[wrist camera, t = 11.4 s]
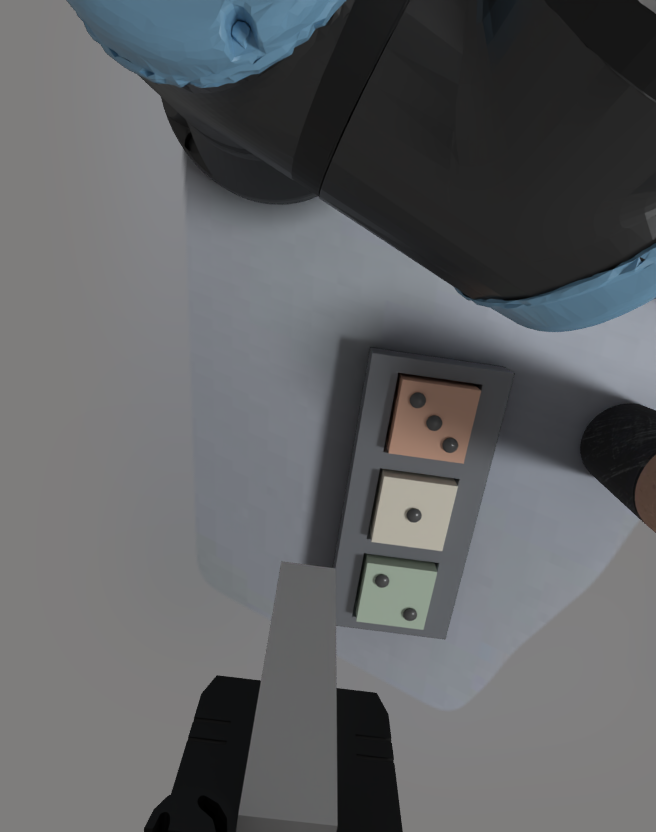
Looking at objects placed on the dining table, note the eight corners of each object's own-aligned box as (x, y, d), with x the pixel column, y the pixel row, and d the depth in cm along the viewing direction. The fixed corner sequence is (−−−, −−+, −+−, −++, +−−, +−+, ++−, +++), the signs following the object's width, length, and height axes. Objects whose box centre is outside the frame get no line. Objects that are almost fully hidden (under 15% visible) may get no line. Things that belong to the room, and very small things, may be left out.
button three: (397, 371, 41) (403, 380, 37) (470, 381, 41) (482, 391, 38) (384, 440, 42) (388, 454, 39) (454, 449, 42) (464, 464, 39)
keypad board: (370, 347, 40) (372, 353, 38) (503, 366, 41) (514, 373, 38) (326, 606, 48) (325, 624, 45) (439, 620, 48) (445, 639, 46)
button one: (380, 462, 43) (384, 477, 40) (449, 471, 43) (458, 487, 40) (369, 523, 45) (371, 543, 42) (435, 532, 45) (442, 552, 42)
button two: (365, 543, 45) (367, 564, 42) (430, 552, 45) (437, 573, 42) (354, 599, 47) (356, 622, 44) (418, 607, 47) (423, 631, 44)
